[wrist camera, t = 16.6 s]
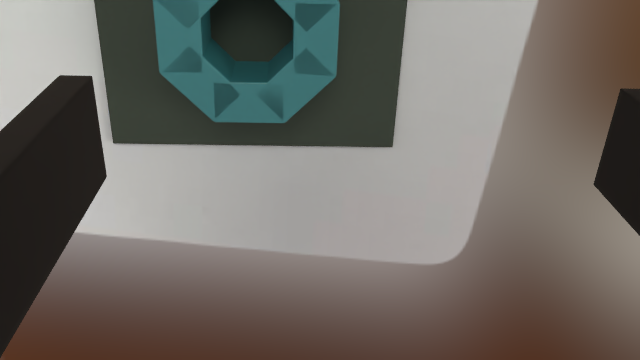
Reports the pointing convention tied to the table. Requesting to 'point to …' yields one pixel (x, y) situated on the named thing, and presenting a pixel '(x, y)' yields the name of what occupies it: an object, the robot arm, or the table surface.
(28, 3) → the table surface
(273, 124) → the mat
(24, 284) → the robot arm
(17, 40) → the table surface
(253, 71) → the ring
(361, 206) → the table surface
